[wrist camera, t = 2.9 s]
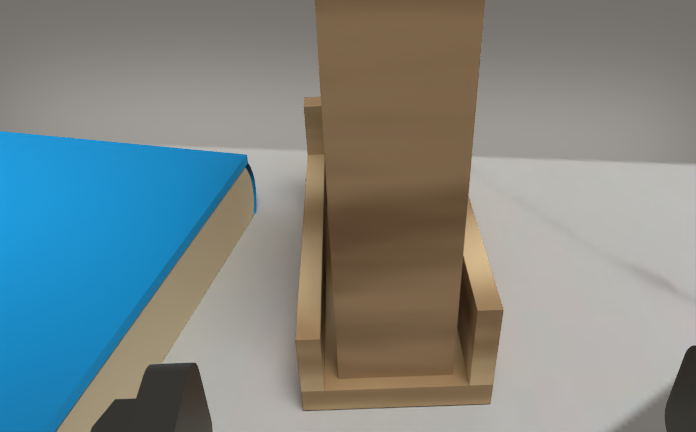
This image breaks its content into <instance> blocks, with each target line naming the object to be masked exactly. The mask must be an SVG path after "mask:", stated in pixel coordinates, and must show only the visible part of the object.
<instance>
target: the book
mask: <svg viewBox="0 0 696 432" xmlns="http://www.w3.org/2000/svg"><path fill="white" fill-rule="evenodd" d="M253 213H255V214H256V187H255V180H254V176H253V172H252V170H251V167H250V165H249V164H248V160H247V155H243V154H233V153H222V152H212V151H201V150H191V149H180V148H170V147H159V146H149V145H138V144H128V143H117V142H107V141H96V140H86V139H75V138H65V137H54V136H43V135H32V134H23V133H12V132H2V131H0V432H90V431H91V429H92V426H93V425H94V424H95V423H96V422H97V420H98V419H99V418H100V417H101V416H102V414H103V413H104V412H105V411H106V410H107V408H108V407H109V406H110V405H111V403H112V402H113V401H114V400H115V399H136V397H137V394H138V391H139V387H140V384H141V381H142V378H143V375H144V372H145V370H146V368H147V367H148V366H149V365H151V364H162V362H163V360H164V359H165V357H166V356H167V354H168V352H169V351H170V349H171V348H172V346H173V344H174V343H175V341H176V340H177V338H178V336H179V335H180V333H181V332H182V330H183V328H184V327H185V325H186V324H187V322H188V320H189V319H190V317H191V316H192V314H193V312H194V311H195V309H196V308H197V306H198V304H199V303H200V301H201V300H202V298H203V296H204V295H205V293H206V292H207V290H208V288H209V287H210V285H211V284H212V282H213V280H214V279H215V277H216V276H217V274H218V272H219V271H220V269H221V268H222V266H223V264H224V263H225V261H226V260H227V258H228V256H229V255H230V253H231V252H232V250H233V248H234V247H235V245H236V244H237V242H238V240H239V239H240V237H241V236H242V234H243V232H244V231H245V229H246V228H247V226H248V224H249V223H250V221H251V220H252V218H253Z"/></svg>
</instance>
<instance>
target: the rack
mask: <svg viewBox="0 0 696 432" xmlns="http://www.w3.org/2000/svg"><path fill="white" fill-rule="evenodd" d="M304 101H305V102H304V114H305V126H306V139H307V151H308V159H307V174H306V189H305V203H304V218H303V233H302V248H301V262H300V277H299V292H298V306H297V321H296V336H295V343H296V352H297V360H298V369H299V378H300V386H301V395H302V404H303V410H330V409H357V408H385V407H412V406H440V405H468V404H490V402H491V395H492V388H493V381H494V374H495V366H496V359H497V352H498V345H499V338H500V331H501V323H502V316H503V307H502V304H501V300H500V297H499V294H498V291H497V287H496V284H495V281H494V278H493V274H492V271H491V268H490V265H489V261H488V258H487V255H486V252H485V248H484V245H483V242H482V239H481V235H480V232H479V229H478V226H477V222H476V219H475V216H474V213H473V209H472V206H471V203H470V200H469V196H468V205H467V216H466V228H465V240H464V251H463V263H462V275H461V286H460V298H459V310H458V321H457V333H456V345H455V356H454V368H453V375H435V376H408V377H380V378H353V379H339V375H338V360H337V344H336V328H335V312H334V297H333V281H332V265H331V249H330V234H329V218H328V202H327V186H326V171H325V155H324V139H323V123H322V108H321V97H305V100H304Z"/></svg>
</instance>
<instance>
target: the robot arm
mask: <svg viewBox="0 0 696 432" xmlns="http://www.w3.org/2000/svg"><path fill="white" fill-rule="evenodd" d="M665 424H666V430H667V432H696V346H691V347H690V348H689V349H688V350H687V351H686V353H685V356H684V358H683V361H682V364H681V366H680V369H679V372H678V374H677V377H676V380H675V383H674V385H673V388H672V391H671V393H670V396H669V399H668V401H667V404H666V408H665ZM90 432H212V422H211V417H210V413H209V409H208V405H207V401H206V397H205V393H204V389H203V385H202V380H201V376H200V372H199V369H198V366H197V364H196V363H174V364H151V365H149V366H148V367H147V368H146V370H145V372H144V375H143V378H142V381H141V384H140V387H139V391H138V394H137V397H136V399H115V400H114V401H113V402H112V403H111V405H110V406H109V407H108V408H107V410H106V411H105V412H104V413H103V414H102V416H101V417H100V418H99V419H98V420H97V422H96V423H95V424H94V425H93V426H92V429H91V431H90Z"/></svg>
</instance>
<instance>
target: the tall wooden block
mask: <svg viewBox="0 0 696 432" xmlns="http://www.w3.org/2000/svg"><path fill="white" fill-rule="evenodd" d="M484 6H485V0H315V13H316V29H317V44H318V59H319V76H320V92H321V108H322V123H323V139H324V155H325V171H326V186H327V202H328V218H329V234H330V249H331V265H332V281H333V297H334V312H335V328H336V344H337V360H338V375H339V379H353V378H380V377H408V376H435V375H453V368H454V356H455V345H456V333H457V321H458V310H459V298H460V286H461V275H462V263H463V251H464V240H465V228H466V216H467V205H468V193H469V181H470V170H471V158H472V146H473V135H474V134H473V133H474V123H475V112H476V100H477V88H478V77H479V64H480V53H481V42H482V30H483V18H484Z"/></svg>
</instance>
